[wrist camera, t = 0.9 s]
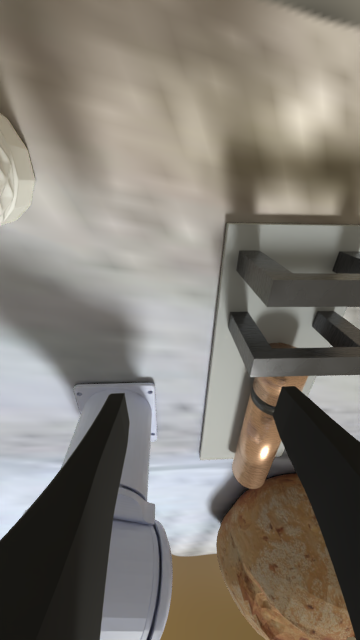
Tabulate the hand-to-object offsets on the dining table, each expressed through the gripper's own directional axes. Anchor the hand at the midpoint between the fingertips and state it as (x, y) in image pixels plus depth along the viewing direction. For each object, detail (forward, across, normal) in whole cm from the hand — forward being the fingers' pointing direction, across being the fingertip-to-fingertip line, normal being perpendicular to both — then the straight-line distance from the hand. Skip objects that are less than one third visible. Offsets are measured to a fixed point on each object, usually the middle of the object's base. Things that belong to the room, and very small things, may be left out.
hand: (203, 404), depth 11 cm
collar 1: (+9, -8, -4) cm, 13 cm away
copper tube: (+9, -8, +12) cm, 17 cm away
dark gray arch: (+9, -8, +1) cm, 12 cm away
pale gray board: (+10, -8, +8) cm, 15 cm away
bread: (+10, -17, +40) cm, 45 cm away
